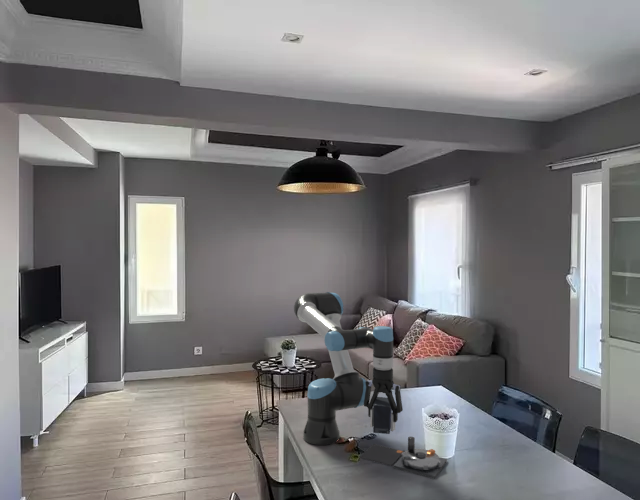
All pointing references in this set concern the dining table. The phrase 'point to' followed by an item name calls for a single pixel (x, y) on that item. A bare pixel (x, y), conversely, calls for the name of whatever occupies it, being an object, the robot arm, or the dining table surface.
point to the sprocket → (420, 457)
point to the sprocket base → (426, 473)
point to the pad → (382, 454)
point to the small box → (382, 416)
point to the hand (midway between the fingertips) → (382, 427)
